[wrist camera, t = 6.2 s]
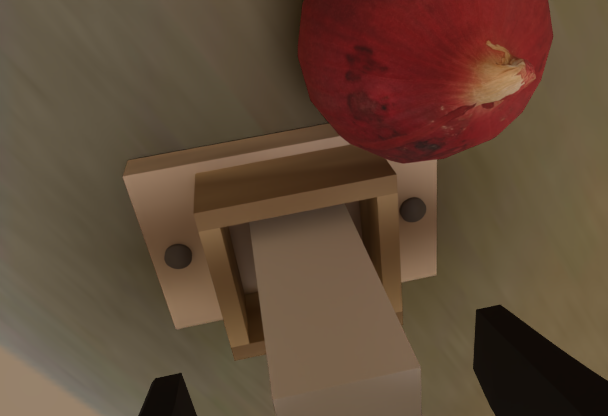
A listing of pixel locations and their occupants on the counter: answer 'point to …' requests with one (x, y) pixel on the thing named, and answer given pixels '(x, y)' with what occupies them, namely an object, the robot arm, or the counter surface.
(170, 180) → the bracket
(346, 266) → the post
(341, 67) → the onion
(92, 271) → the counter surface
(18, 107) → the counter surface
